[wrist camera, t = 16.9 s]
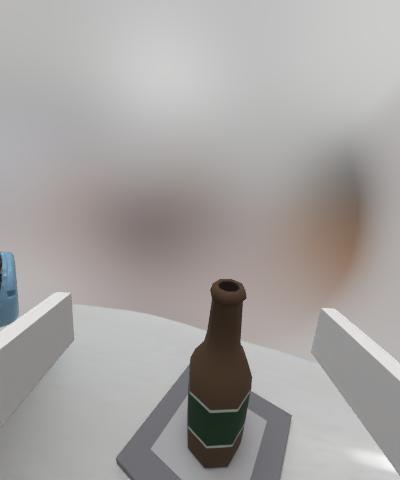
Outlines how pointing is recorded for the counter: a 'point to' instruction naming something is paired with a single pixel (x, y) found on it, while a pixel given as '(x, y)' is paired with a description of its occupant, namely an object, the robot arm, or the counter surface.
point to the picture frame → (182, 459)
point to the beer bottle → (219, 381)
